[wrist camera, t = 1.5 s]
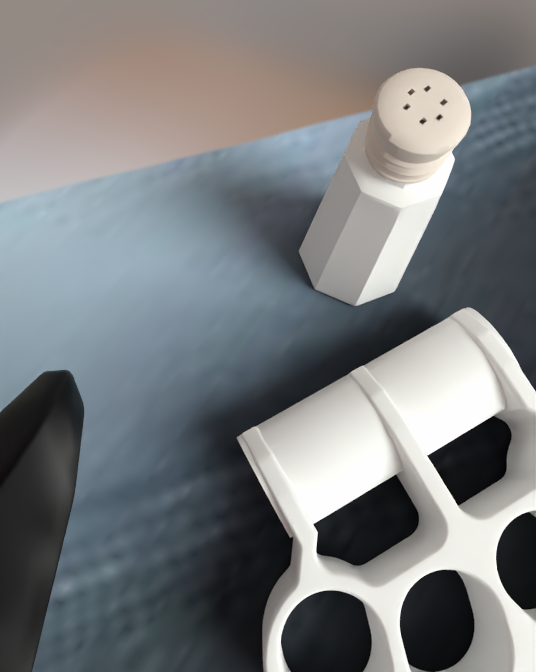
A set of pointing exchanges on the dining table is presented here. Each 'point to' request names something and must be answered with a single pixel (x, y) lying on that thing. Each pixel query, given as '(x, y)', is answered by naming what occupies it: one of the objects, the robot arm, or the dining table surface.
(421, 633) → the dining table surface
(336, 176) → the salt shaker
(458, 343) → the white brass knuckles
